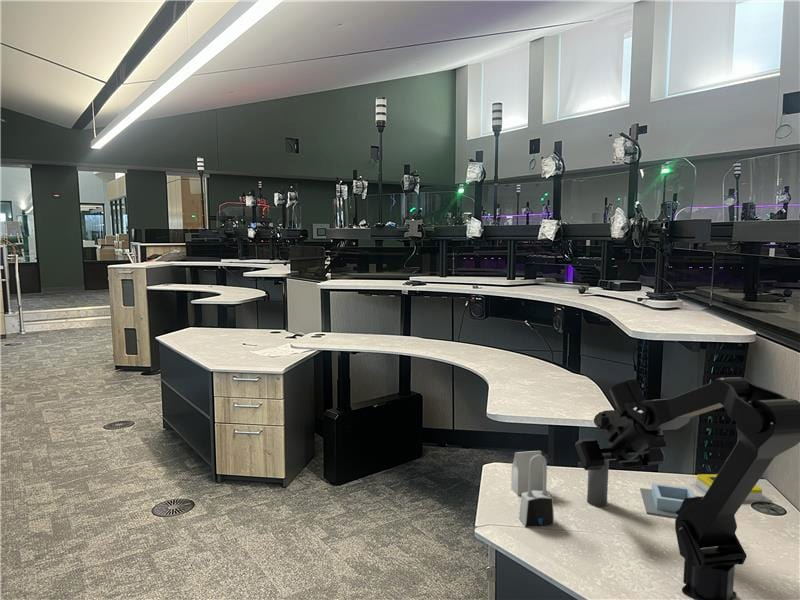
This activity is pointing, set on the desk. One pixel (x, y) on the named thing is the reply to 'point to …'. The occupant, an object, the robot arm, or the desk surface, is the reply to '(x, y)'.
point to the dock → (665, 499)
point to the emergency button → (707, 479)
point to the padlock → (536, 502)
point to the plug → (598, 486)
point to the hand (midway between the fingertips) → (603, 466)
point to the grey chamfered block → (526, 472)
